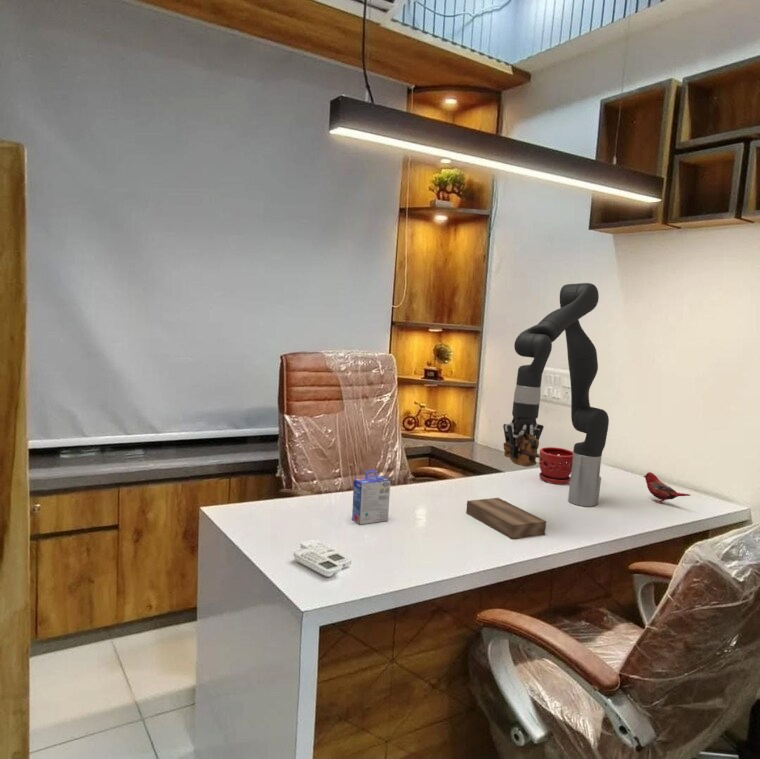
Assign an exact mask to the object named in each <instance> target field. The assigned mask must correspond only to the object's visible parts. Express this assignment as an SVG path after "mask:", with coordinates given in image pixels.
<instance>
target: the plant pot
mask: <svg viewBox="0 0 760 759" xmlns="http://www.w3.org/2000/svg"><path fill="white" fill-rule="evenodd" d="M539 454H540V455H541V458H538V459H539V460H538V462H539V469H540V473H538V474H539V478H540V479H541V480H542V481H544V482H547V483H551V484H557V485H563V484H568V483H570V478H571V469H572V459H573V451H572V450H569V449H566V448H561V447H551V446H550V447H549V446H548V447H546V446H545V447H541V448H540V450H539Z"/></svg>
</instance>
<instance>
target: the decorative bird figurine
mask: <svg viewBox="0 0 760 759" xmlns="http://www.w3.org/2000/svg"><path fill="white" fill-rule="evenodd" d="M642 477H643V478H644V479H645V482H646V486H647V487H646V488H647V489H648V491H649V492H650V494H651V495H652V496H653V497H654V498H656V499H651V500H652V501H654V502H655V503H657V504H658V503H659V504H661V505H663V504H664V505H666V503H665V502H664V501H667V500H673V499H675V498H678V497H687V496H688V497H689V496H691V494H689V493H682V492H677V491H676V490H675V489H673V488H672V487H671V486H669V485H668V484H665V483H664V482H662V481H661V480H659V478H658V476H656V475H655V474H654V473H653V472H647V473H646V474H645V475H644V476H642ZM658 499H659V500H658Z"/></svg>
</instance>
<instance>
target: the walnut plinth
mask: <svg viewBox="0 0 760 759" xmlns="http://www.w3.org/2000/svg"><path fill="white" fill-rule="evenodd" d="M465 514H467V515H469V516H470V517H472V518H474V519H475V520H477V521H479V522H481V523H482V524H484V525H486V526H488V527H489V528H491V529H493V530H495V531H497V532H498V533H500V534H502V535H504V536H505V537H507V538H509V539H510V540H517V539H523V538H530V537H531V538H532V537H537V536H544V535H545V534H546V527H547V521H546V520H545V519H543V518H541V517H538V516H536V515H535V514H532V513H531V512H528V511H527V510H524V509H522V508H520V507H518V506H516V505H514V504H512V503H510V502H508V501H506V500H504V499H501V498H500V497H494V498H493V497H492V498H482V499H471V500H467V501H466V512H465Z"/></svg>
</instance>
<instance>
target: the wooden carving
mask: <svg viewBox="0 0 760 759" xmlns="http://www.w3.org/2000/svg"><path fill="white" fill-rule="evenodd" d="M516 435H517V436H518V434H516ZM535 437H536V436H535ZM535 437H534V436H533V435H531V434H527V433H526V434H525V435H523V437H522V439H521V440H520V441H519V445H518V447H519V449H518V458H517V459H514V458H511V456H510V451H511V445H510V444H509V443H506V441H505V442H503V450H504V451H503V452H504V457H505V458H509V459H510V461H511V462H512V463H513V464H515V465H518V466H521V467H527V468H529V467H533V466H536V465H537V461H536V459H537V458H538V459H539V458H541V455H540V453H538V449H539V446H540V439H539V440H537V439H536V438H535ZM515 441H516V440H515Z"/></svg>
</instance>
